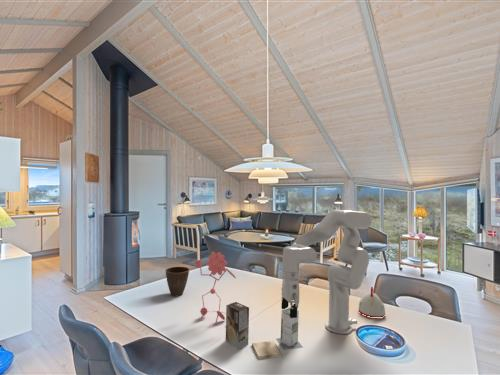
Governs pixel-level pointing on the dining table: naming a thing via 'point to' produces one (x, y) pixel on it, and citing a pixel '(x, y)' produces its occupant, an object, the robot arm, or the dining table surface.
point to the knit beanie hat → (371, 305)
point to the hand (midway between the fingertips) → (288, 313)
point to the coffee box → (237, 324)
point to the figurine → (215, 265)
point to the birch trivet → (266, 349)
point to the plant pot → (177, 279)
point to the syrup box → (289, 328)
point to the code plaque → (284, 346)
